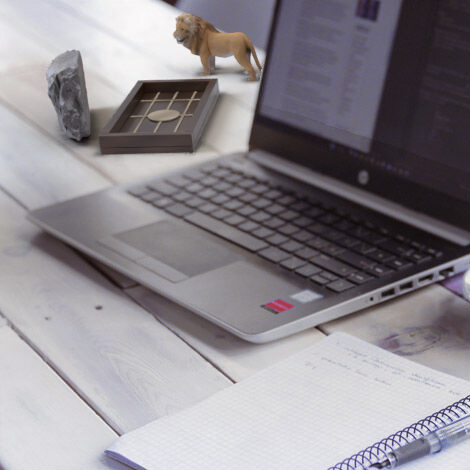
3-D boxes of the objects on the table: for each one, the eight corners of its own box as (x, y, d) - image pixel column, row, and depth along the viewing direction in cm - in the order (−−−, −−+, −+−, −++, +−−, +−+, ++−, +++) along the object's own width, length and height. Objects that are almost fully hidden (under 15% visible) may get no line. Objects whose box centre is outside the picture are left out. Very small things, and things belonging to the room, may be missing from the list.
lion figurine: (172, 78, 139) (165, 17, 135) (189, 68, 143) (182, 8, 139) (265, 85, 135) (260, 22, 131) (279, 74, 139) (275, 12, 135)
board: (101, 157, 113) (97, 136, 111) (140, 99, 131) (137, 80, 130) (193, 155, 112) (191, 134, 111) (219, 97, 131) (217, 78, 130)
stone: (64, 113, 127) (50, 39, 123) (99, 109, 128) (87, 36, 123) (51, 155, 114) (36, 74, 109) (91, 151, 114) (77, 71, 110)
